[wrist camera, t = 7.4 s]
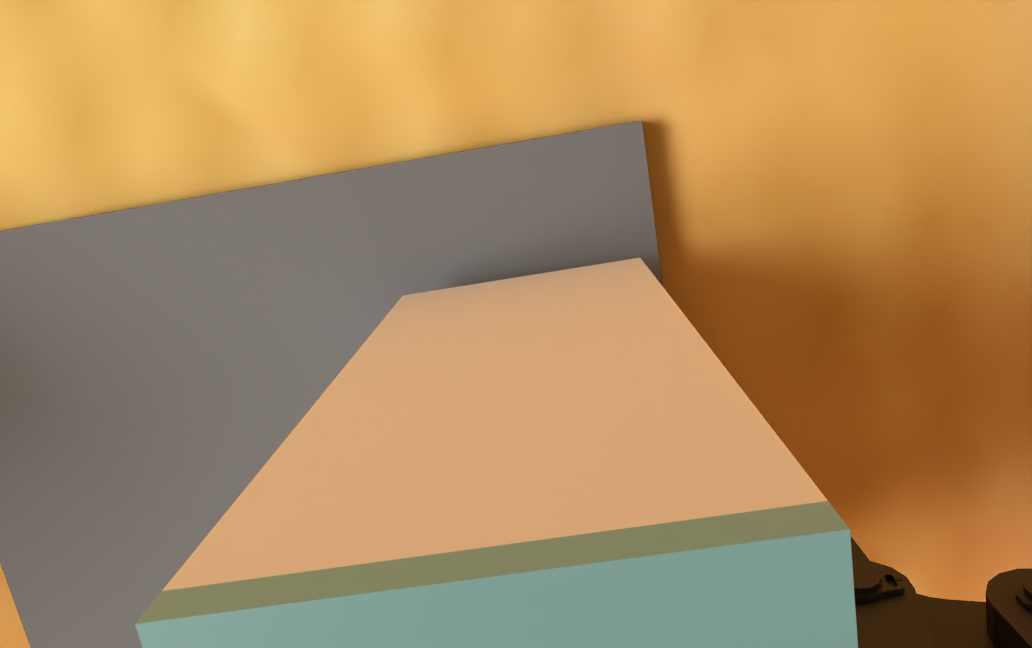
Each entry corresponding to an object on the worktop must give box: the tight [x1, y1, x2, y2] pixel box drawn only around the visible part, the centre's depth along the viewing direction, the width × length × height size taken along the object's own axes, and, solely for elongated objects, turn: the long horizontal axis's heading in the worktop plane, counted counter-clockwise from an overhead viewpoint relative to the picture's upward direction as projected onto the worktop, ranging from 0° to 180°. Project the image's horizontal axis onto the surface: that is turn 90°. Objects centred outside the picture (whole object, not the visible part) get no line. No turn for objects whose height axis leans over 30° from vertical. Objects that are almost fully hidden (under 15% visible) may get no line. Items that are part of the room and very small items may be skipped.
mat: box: [0, 121, 663, 648], centre depth 19 cm, size 14×17×1 cm
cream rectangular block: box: [135, 258, 858, 648], centre depth 12 cm, size 8×5×11 cm, turn 10°
